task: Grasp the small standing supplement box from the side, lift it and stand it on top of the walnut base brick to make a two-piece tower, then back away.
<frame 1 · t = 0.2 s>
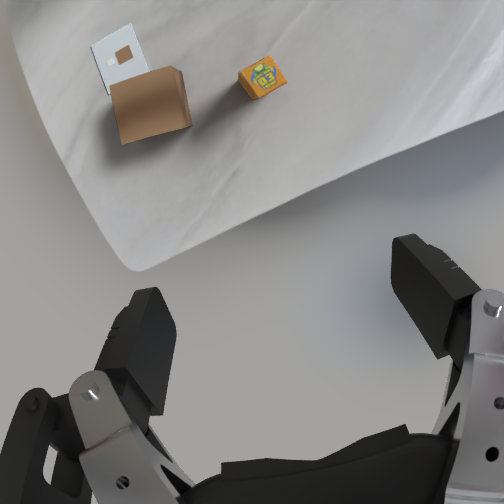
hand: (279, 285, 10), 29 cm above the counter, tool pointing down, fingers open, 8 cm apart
instruction page: (119, 58, 29), on the counter
base brick: (159, 105, 32), on the counter
supplement box: (257, 84, 32), on the counter
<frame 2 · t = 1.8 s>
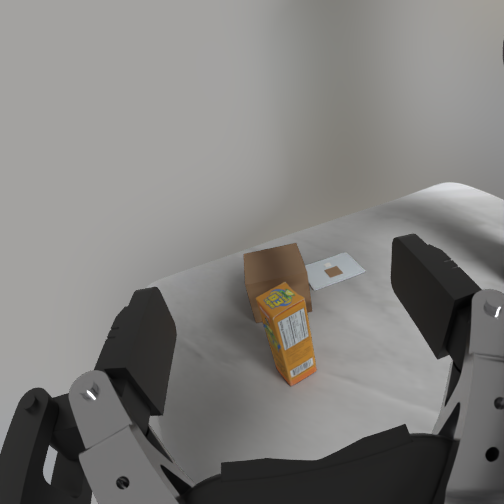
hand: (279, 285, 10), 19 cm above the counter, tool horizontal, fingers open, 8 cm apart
instruction page: (331, 270, 42), on the counter
base brick: (280, 300, 39), on the counter
supplement box: (295, 372, 29), on the counter
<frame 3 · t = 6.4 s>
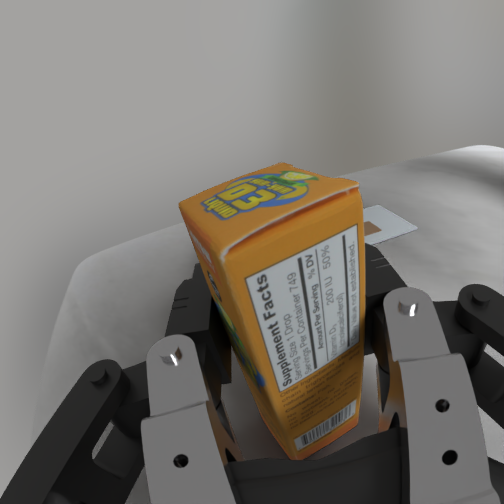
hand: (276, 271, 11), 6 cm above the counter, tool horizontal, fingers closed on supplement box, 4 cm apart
instruction page: (360, 227, 25), on the counter
supplement box: (305, 425, 11), on the counter, touching gripper
when the fingers open (13 cm above the counter, at t = 10.4 s): supplement box stays where it is, resting on base brick.
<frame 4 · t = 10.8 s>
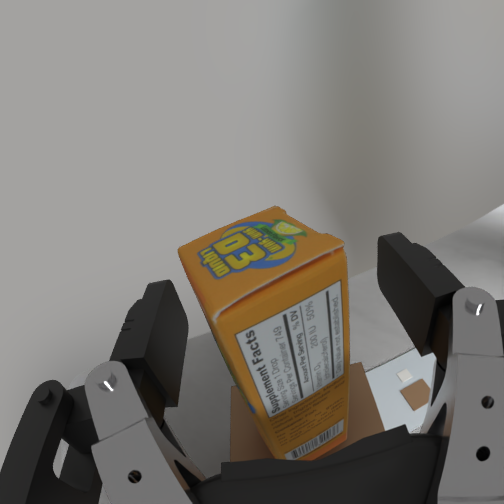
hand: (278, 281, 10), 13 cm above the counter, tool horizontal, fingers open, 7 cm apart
instruction page: (412, 388, 17), on the counter
base brick: (312, 470, 14), on the counter, touching supplement box
supplement box: (298, 437, 12), point 6 cm above the counter, touching base brick
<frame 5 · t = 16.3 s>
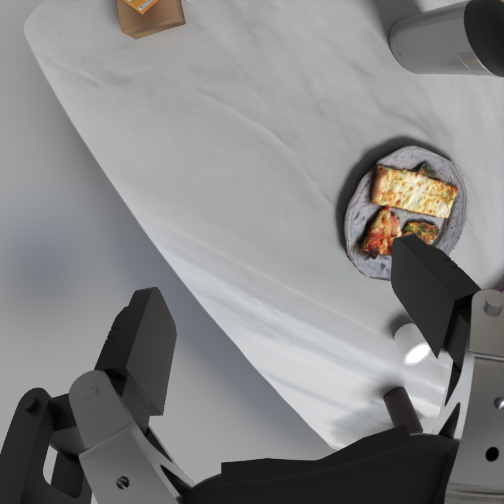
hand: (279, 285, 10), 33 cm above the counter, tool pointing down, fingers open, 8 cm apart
food plate: (406, 215, 46), on the counter
base brick: (156, 11, 29), on the counter, touching supplement box
supplement box: (144, 1, 24), point 6 cm above the counter, touching base brick
bottle: (394, 393, 71), on the counter
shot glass: (404, 332, 59), on the counter
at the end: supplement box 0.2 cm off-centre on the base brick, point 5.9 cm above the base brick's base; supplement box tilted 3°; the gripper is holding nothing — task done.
